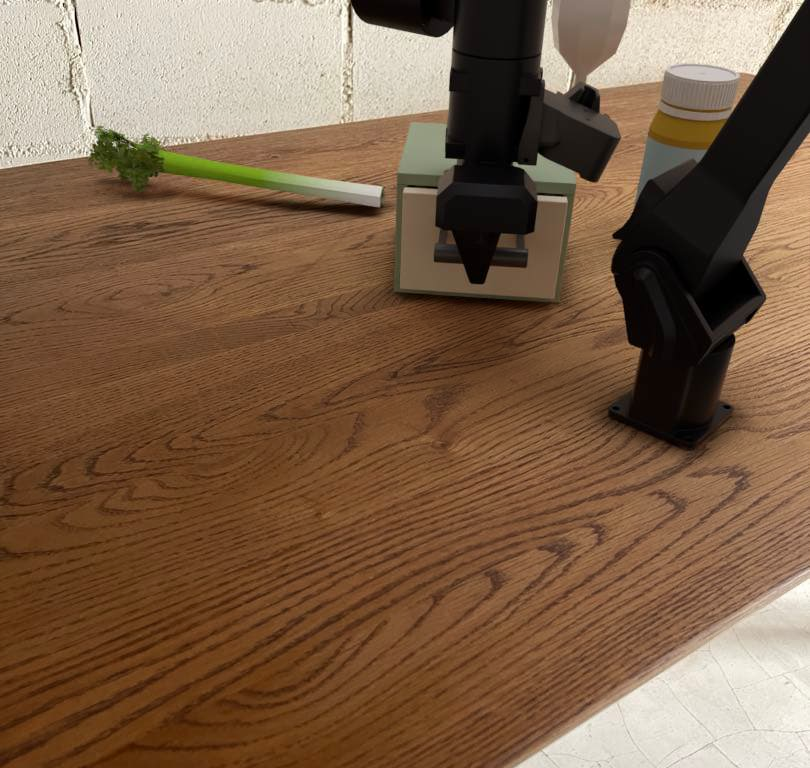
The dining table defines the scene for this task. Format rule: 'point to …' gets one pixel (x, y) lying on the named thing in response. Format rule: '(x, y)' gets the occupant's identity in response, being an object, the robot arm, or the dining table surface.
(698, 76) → the bottle
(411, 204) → the drawer
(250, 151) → the dining table surface
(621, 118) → the dining table surface
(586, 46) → the wineglass
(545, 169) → the cabinet
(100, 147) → the leek
